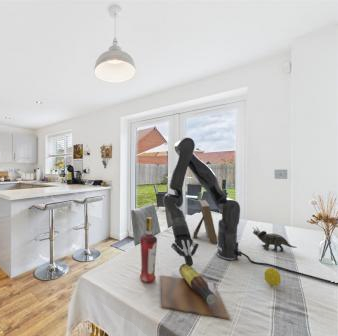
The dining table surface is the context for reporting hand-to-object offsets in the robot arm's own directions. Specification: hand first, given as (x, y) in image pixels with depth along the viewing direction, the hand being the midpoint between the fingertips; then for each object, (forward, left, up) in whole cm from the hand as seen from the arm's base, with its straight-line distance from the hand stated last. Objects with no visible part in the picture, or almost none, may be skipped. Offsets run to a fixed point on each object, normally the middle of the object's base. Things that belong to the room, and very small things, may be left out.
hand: (190, 265), depth 86 cm
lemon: (-35, -7, -8) cm, 36 cm away
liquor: (+18, +2, -8) cm, 20 cm away
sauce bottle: (+1, -4, -4) cm, 6 cm away
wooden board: (+1, +8, -8) cm, 11 cm away
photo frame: (-19, -61, -8) cm, 64 cm away
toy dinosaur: (-57, -50, -8) cm, 76 cm away
